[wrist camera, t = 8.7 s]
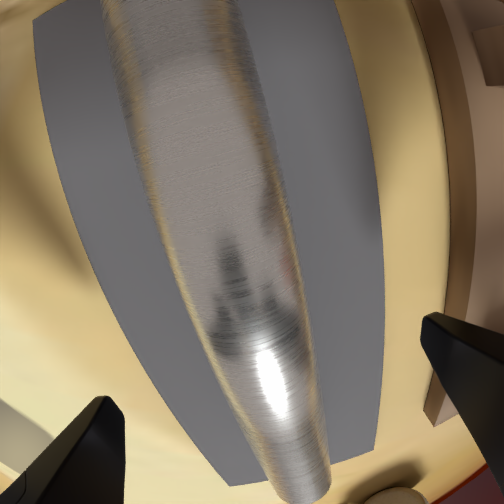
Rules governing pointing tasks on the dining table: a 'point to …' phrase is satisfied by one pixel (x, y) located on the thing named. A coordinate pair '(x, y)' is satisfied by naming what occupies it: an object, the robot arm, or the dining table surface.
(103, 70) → the grey flat tapered piece
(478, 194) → the hook stand
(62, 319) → the dining table surface
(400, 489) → the ceramic mug
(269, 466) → the steel rod
